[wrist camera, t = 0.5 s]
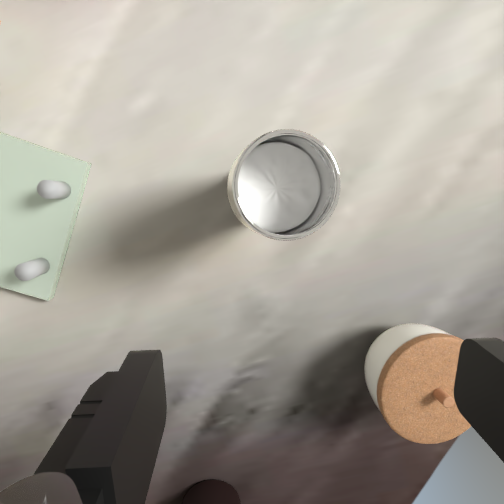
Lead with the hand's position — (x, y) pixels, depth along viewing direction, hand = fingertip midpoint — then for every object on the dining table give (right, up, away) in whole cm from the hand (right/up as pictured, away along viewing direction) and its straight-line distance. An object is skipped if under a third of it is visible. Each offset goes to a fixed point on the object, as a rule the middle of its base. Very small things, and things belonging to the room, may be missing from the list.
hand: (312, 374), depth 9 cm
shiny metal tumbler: (-1, +9, +26) cm, 28 cm away
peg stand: (-26, +7, +24) cm, 36 cm away
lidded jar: (+15, -8, +31) cm, 35 cm away
